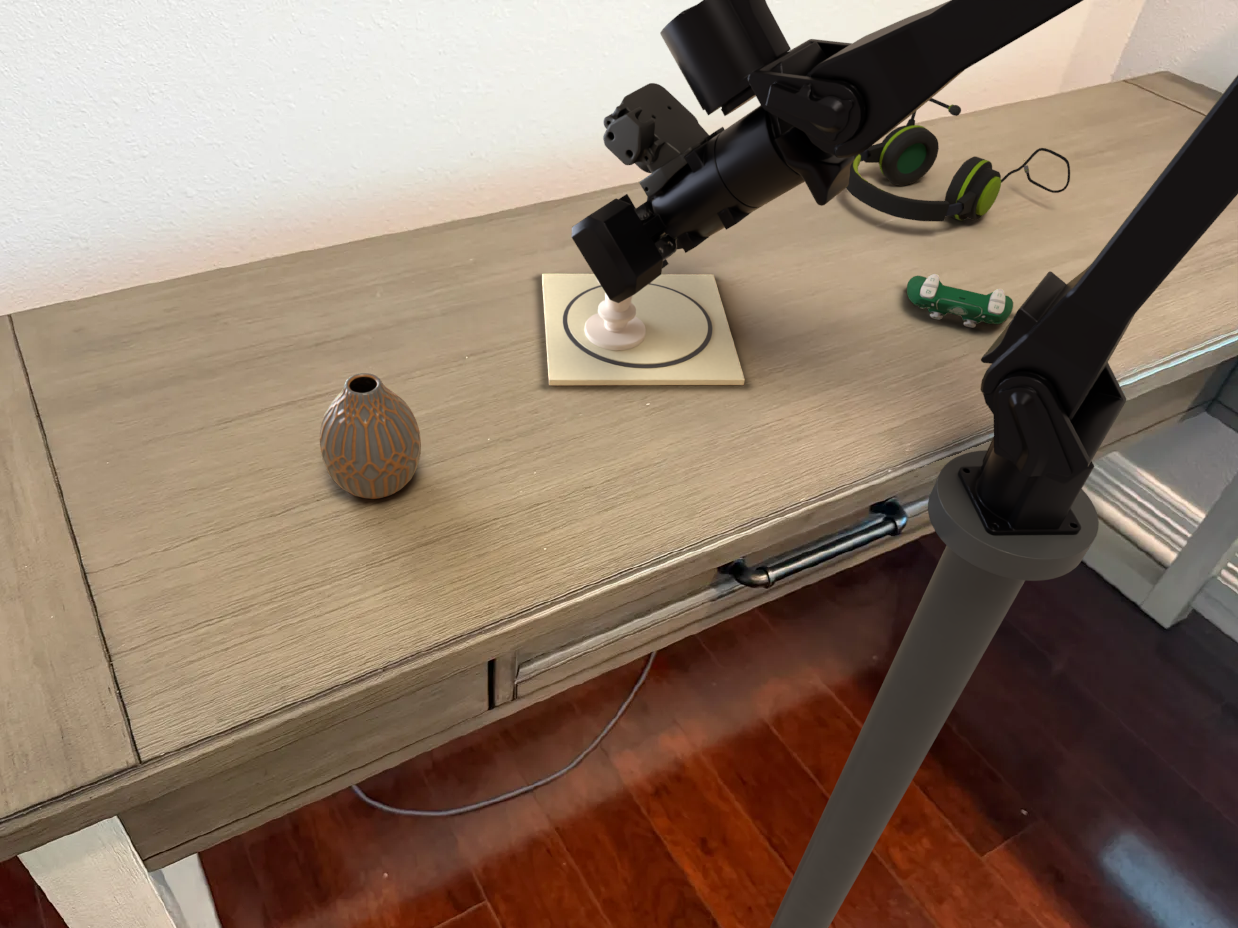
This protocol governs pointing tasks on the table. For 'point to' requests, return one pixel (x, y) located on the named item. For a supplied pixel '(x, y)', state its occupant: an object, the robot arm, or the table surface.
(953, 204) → the headphones
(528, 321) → the table surface
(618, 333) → the candle
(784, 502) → the table surface
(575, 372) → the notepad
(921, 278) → the gaming controller
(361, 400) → the vase
